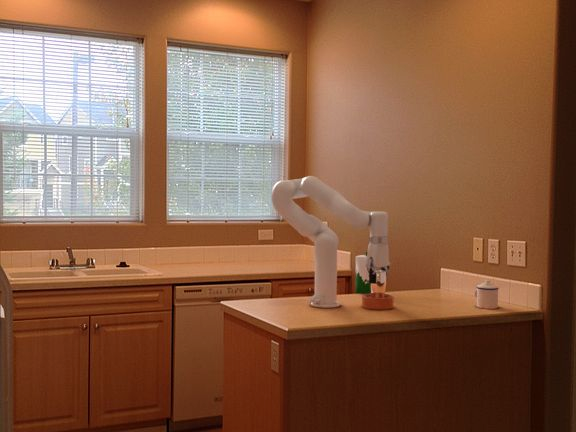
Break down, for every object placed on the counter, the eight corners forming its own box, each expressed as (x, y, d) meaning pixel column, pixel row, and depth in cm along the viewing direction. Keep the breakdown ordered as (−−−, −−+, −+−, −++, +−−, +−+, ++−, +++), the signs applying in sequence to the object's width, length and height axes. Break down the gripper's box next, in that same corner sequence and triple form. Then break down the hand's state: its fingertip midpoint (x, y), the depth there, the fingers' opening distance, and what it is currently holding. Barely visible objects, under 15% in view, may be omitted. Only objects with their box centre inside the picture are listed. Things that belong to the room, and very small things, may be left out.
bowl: (380, 311, 270) (380, 299, 270) (355, 307, 279) (355, 295, 279) (399, 307, 279) (399, 296, 279) (374, 303, 288) (374, 292, 288)
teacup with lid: (502, 308, 280) (503, 281, 280) (486, 309, 276) (487, 282, 276) (482, 303, 291) (483, 277, 290) (466, 305, 287) (467, 278, 286)
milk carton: (370, 295, 312) (370, 253, 311) (352, 293, 317) (353, 251, 316) (377, 292, 320) (378, 251, 319) (360, 291, 324) (360, 250, 323)
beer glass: (381, 308, 274) (382, 272, 274) (366, 306, 278) (367, 271, 277) (388, 305, 280) (389, 270, 280) (373, 304, 284) (374, 269, 283)
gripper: (383, 239, 287) (383, 279, 288) (358, 241, 274) (358, 283, 275) (398, 240, 282) (397, 281, 282) (373, 242, 269) (372, 285, 270)
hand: (378, 282), depth 279 cm, fingers closed on beer glass, 7 cm apart
